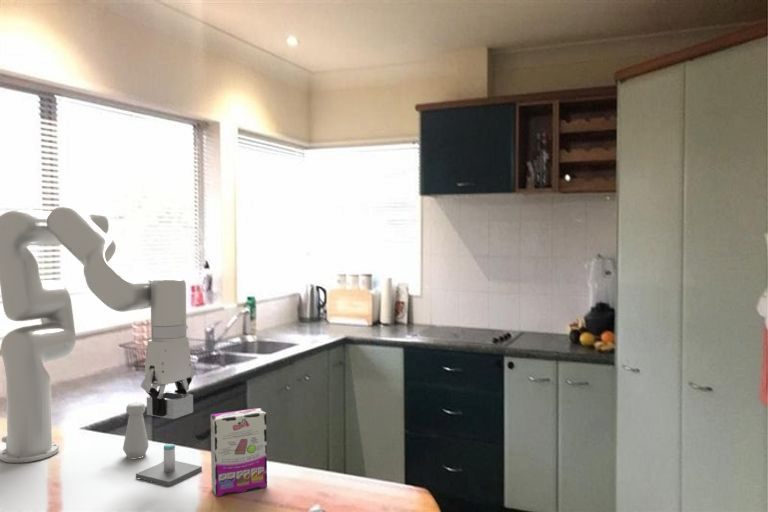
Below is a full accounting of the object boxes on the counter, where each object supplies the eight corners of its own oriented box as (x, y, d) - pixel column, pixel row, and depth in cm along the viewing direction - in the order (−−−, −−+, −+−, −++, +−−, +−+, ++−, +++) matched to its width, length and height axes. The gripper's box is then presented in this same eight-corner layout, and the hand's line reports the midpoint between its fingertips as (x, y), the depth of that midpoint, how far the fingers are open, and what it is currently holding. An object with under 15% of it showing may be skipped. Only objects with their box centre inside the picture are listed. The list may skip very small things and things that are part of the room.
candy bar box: (261, 479, 139) (261, 406, 138) (267, 487, 134) (267, 412, 134) (210, 488, 134) (209, 413, 133) (215, 497, 129) (215, 419, 129)
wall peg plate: (135, 478, 139) (135, 448, 139) (169, 463, 148) (169, 436, 148) (169, 486, 135) (169, 456, 135) (201, 470, 144) (201, 442, 144)
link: (146, 414, 140) (146, 396, 140) (166, 408, 145) (166, 391, 145) (173, 419, 137) (173, 401, 136) (193, 412, 142) (192, 394, 142)
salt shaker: (139, 461, 150) (139, 407, 149) (118, 459, 151) (117, 406, 150) (153, 452, 155) (152, 401, 155) (132, 451, 156) (132, 399, 156)
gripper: (184, 326, 150) (185, 400, 150) (126, 336, 134) (127, 419, 135) (208, 328, 147) (209, 404, 147) (151, 339, 131) (152, 424, 132)
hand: (169, 410), depth 141 cm, fingers closed on link, 6 cm apart
